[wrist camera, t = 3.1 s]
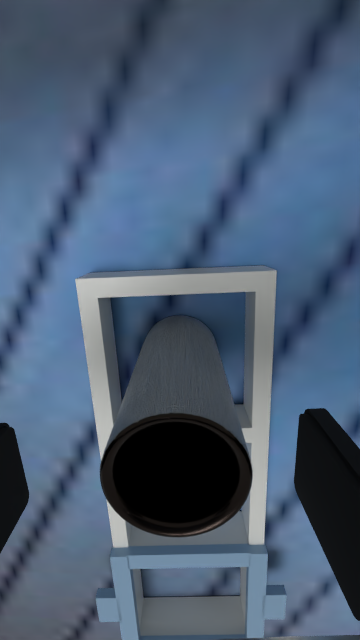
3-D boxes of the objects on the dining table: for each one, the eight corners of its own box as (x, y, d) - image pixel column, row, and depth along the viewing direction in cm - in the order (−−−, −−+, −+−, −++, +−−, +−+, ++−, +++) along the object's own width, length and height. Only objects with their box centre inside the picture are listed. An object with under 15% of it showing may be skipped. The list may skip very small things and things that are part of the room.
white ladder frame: (290, 264, 17) (312, 270, 14) (269, 604, 25) (281, 655, 22) (64, 273, 17) (40, 282, 14) (115, 607, 25) (105, 657, 22)
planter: (206, 305, 18) (234, 396, 8) (224, 372, 19) (268, 523, 9) (134, 325, 18) (75, 435, 8) (156, 389, 19) (127, 552, 10)
